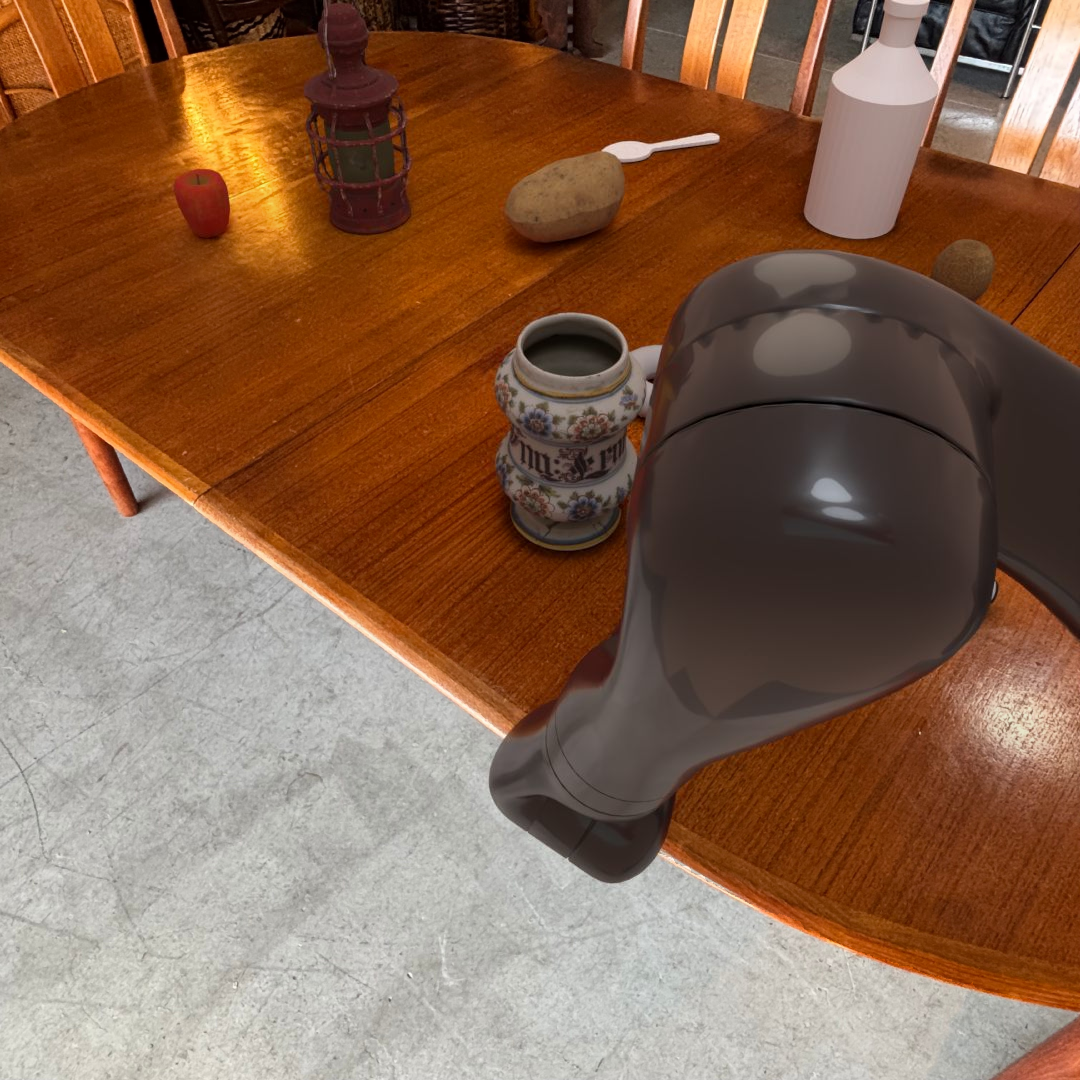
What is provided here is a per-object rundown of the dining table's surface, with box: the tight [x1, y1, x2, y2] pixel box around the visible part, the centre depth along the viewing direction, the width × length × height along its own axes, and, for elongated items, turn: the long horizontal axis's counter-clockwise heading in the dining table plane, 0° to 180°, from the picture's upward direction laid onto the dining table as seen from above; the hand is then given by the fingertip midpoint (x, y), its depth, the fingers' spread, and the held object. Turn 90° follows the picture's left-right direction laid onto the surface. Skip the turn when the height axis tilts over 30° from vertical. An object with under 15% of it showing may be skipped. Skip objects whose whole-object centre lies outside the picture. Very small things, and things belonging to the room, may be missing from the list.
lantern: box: [302, 0, 413, 235], centre depth 104 cm, size 12×12×30 cm
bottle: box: [803, 0, 940, 240], centre depth 106 cm, size 12×12×25 cm
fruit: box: [929, 238, 995, 303], centre depth 98 cm, size 6×6×8 cm
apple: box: [173, 168, 231, 239], centre depth 110 cm, size 6×6×8 cm
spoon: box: [601, 132, 721, 163], centre depth 127 cm, size 5×18×1 cm, turn 108°
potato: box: [503, 150, 626, 243], centre depth 108 cm, size 9×16×9 cm, turn 113°
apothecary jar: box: [494, 312, 647, 552], centre depth 74 cm, size 12×12×18 cm
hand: (784, 454), depth 70 cm, fingers open, 8 cm apart
